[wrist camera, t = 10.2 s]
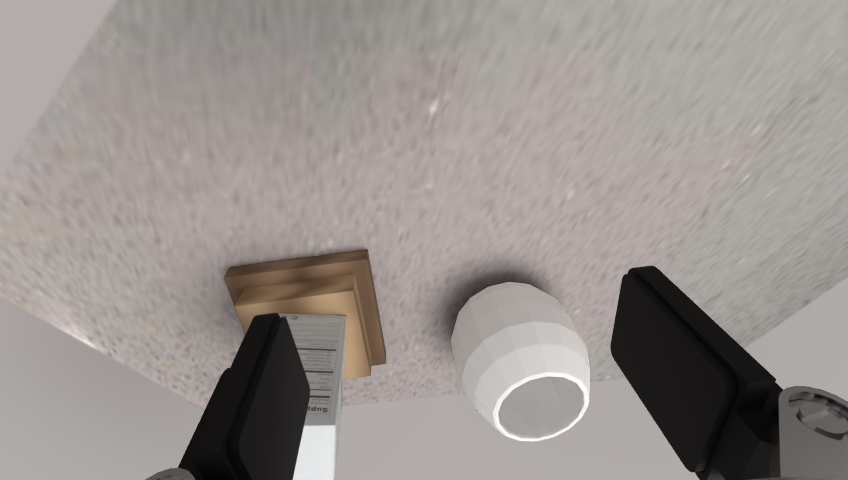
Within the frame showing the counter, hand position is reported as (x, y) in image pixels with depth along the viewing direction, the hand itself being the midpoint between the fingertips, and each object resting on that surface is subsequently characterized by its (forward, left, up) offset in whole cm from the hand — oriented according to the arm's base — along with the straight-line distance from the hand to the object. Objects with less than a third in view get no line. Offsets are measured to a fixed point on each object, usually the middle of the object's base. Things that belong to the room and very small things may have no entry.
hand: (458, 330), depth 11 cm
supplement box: (+12, +19, -23) cm, 32 cm away
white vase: (-9, +23, -28) cm, 38 cm away
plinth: (+12, +19, -28) cm, 36 cm away
